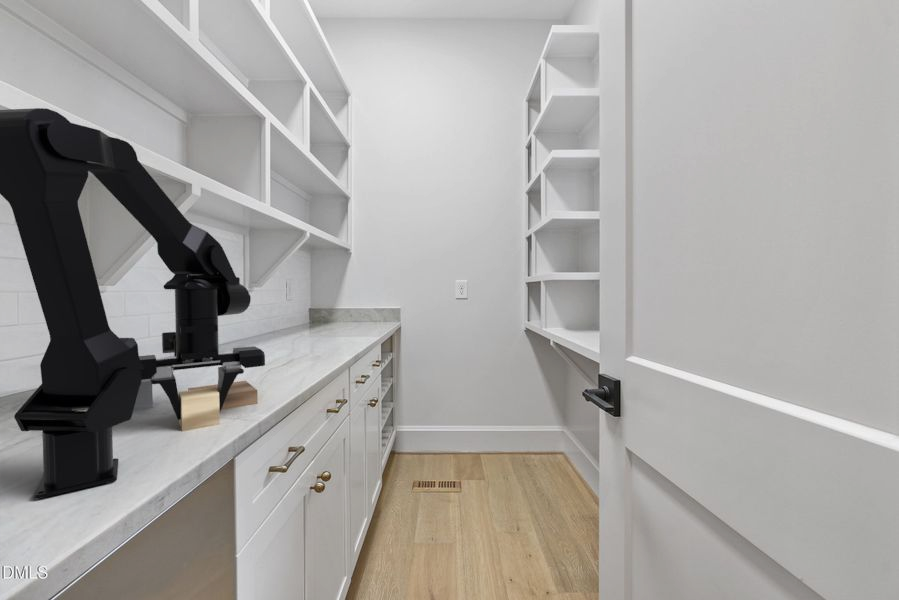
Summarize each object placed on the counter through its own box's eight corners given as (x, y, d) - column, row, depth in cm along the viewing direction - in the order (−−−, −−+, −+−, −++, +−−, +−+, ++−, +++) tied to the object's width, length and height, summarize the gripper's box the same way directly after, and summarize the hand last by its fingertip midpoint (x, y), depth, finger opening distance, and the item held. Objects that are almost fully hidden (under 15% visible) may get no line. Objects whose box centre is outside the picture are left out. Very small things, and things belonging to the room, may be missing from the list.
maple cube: (219, 424, 64) (219, 392, 63) (182, 431, 60) (181, 398, 60) (214, 416, 67) (214, 386, 67) (179, 422, 64) (178, 391, 64)
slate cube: (152, 408, 73) (152, 380, 72) (117, 413, 70) (116, 384, 69) (151, 402, 77) (151, 376, 76) (117, 406, 73) (117, 379, 73)
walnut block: (257, 406, 75) (257, 390, 75) (194, 416, 69) (194, 399, 69) (246, 395, 83) (245, 380, 83) (188, 403, 76) (188, 388, 76)
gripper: (249, 313, 76) (251, 395, 76) (122, 318, 64) (124, 414, 64) (265, 316, 67) (266, 409, 67) (120, 322, 55) (123, 434, 56)
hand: (199, 415), depth 64 cm, fingers closed on maple cube, 5 cm apart
